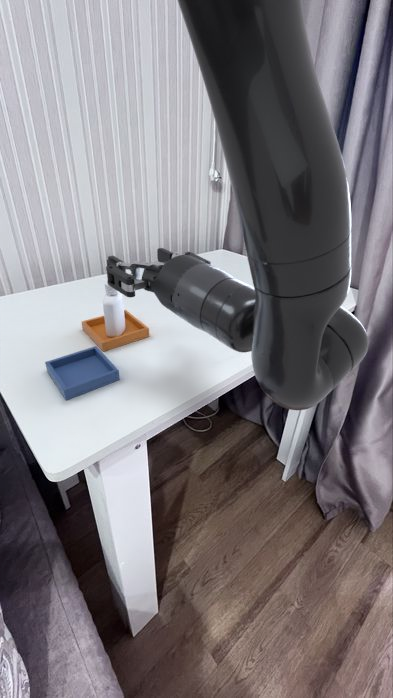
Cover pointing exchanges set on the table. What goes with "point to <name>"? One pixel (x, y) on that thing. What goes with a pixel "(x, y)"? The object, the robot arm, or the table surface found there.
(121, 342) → the amber tray
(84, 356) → the blue tray
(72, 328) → the table surface
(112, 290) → the eye dropper bottle
